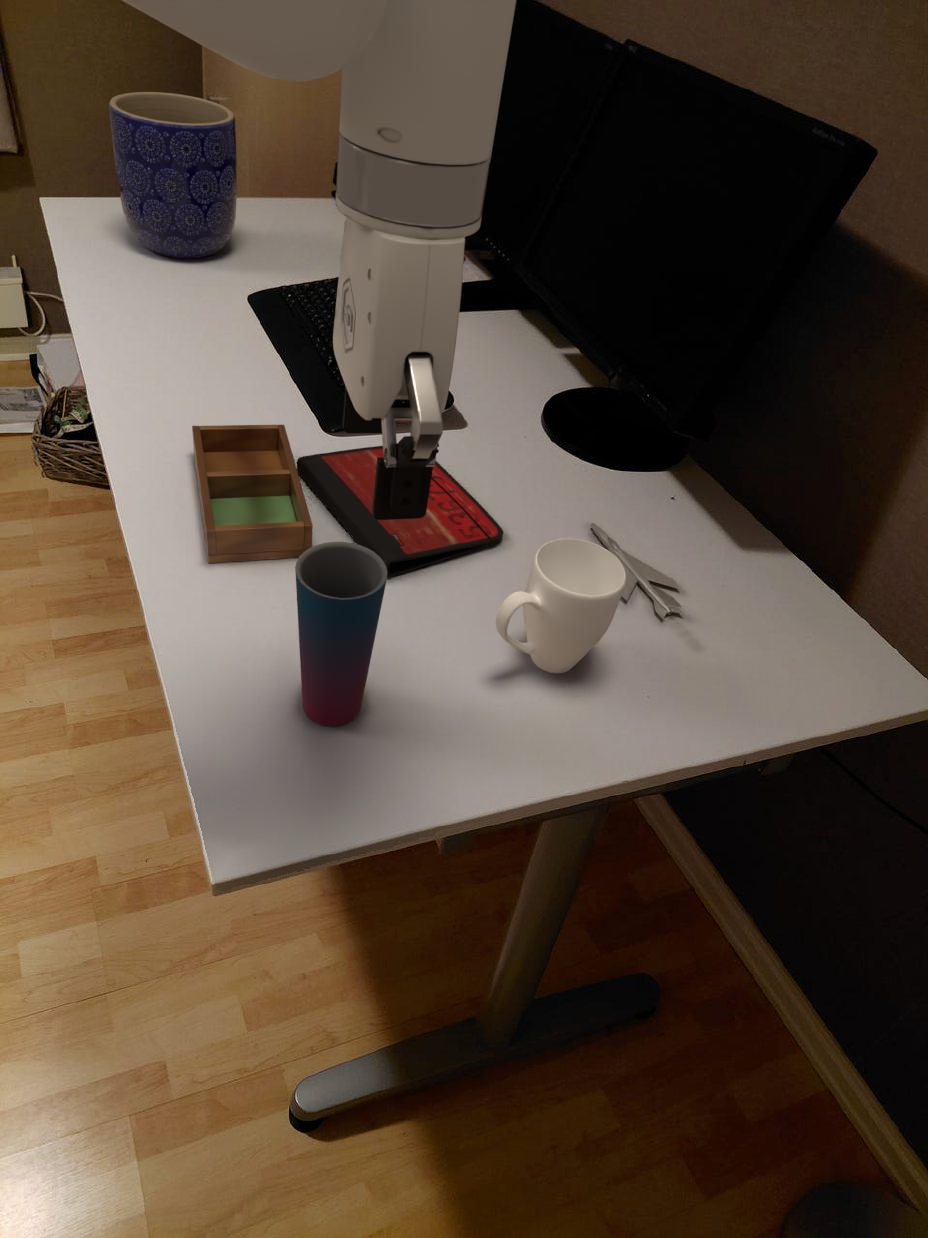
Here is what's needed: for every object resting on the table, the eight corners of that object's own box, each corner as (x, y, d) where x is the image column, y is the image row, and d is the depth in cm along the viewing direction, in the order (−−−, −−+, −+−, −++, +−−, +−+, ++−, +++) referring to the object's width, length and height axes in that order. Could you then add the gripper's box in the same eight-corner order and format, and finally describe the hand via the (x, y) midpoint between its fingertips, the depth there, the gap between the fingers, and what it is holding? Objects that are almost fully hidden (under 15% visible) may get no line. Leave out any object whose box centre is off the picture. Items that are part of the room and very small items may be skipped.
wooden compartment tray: (208, 563, 84) (206, 531, 81) (194, 456, 97) (192, 425, 94) (311, 556, 87) (312, 525, 84) (283, 453, 100) (284, 424, 98)
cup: (377, 682, 75) (394, 550, 65) (363, 741, 70) (379, 606, 60) (302, 669, 75) (307, 534, 65) (282, 726, 70) (284, 589, 60)
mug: (560, 619, 86) (588, 528, 78) (611, 674, 81) (646, 583, 73) (461, 652, 80) (481, 558, 72) (509, 713, 75) (536, 618, 67)
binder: (388, 561, 84) (295, 455, 96) (385, 579, 86) (294, 472, 98) (513, 531, 93) (414, 436, 105) (508, 547, 94) (411, 452, 106)
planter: (158, 273, 132) (145, 126, 119) (103, 232, 141) (86, 91, 128) (259, 259, 143) (258, 122, 129) (203, 221, 152) (196, 90, 138)
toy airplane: (616, 522, 100) (622, 506, 99) (725, 640, 87) (733, 624, 86) (562, 531, 97) (566, 514, 96) (665, 655, 84) (673, 638, 82)
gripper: (311, 128, 47) (302, 403, 59) (373, 241, 35) (348, 559, 47) (439, 141, 50) (407, 403, 61) (538, 251, 38) (475, 552, 49)
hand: (381, 471), depth 54 cm, fingers open, 9 cm apart
